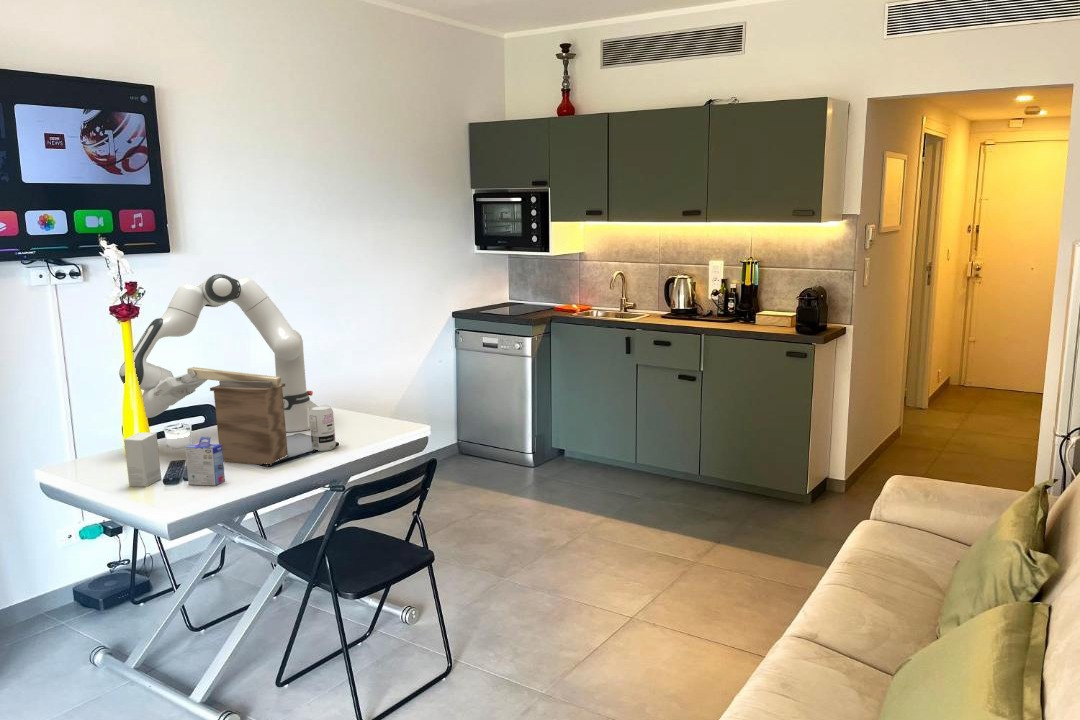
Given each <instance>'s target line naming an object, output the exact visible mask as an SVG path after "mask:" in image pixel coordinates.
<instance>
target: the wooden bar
mask: <svg viewBox="0 0 1080 720" xmlns="http://www.w3.org/2000/svg"><path fill="white" fill-rule="evenodd" d="M186 370H187V373H186V374H188V373H190V372H191V371H196V373H197V375H196V376H195V377H192V378H199V379H208V380H209V381H210V380H211V381H216V382H219V381H220V380H227V381H259V382H272V387H274V388H277V387H280V386H281V377H276V375H274V376H273V375H267V374H266V375H264V374H258V373H257V374H256V373H249V372H247V373H246V372H240V371H231V370H230V371H229V370H221V369H213V368H205V367H204V368H203V367H198V366H197V367H196V366H193V367H188V368H187V369H186ZM208 380H207V381H208Z"/></svg>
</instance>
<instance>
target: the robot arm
mask: <svg viewBox="0 0 1080 720" xmlns="http://www.w3.org/2000/svg"><path fill="white" fill-rule="evenodd" d="M229 302H233V304H236V305H237V306H238V307H239V308H240V310H241V311H242V313H244V315H245V316H246V318H247V319H249V321H250V323H252V325H253V326H254V327H255V329H256V330H257V331H258V333H259V334H260V336H261V337H262V339H263V340H264V341H265V343H266V344H267V345H268V347H269V348H270V350H271V351H272V352H273V354H274V365H275V366H274V367H275V377H281V383H285V387H282V391H283V403H284V415H285V427H286V433H288V432H290V433H291V432H301V431H306V430H307V431H308V430H311V428H310V415H309V413H310V410H311V408H312V407H316V406H318V405H317V404H316V403H314V402H313V401H312V400H311V398H310V397H311V396H313V395H314V392H313V390H307V384H306V383H307V382H306V381H307V380H306V369H305V359H304V358H305V357H304V343H303V342H304V341H303V338H302V335H301V334H300V332H298V330H296V329H293V327H292V325H290V323H289V322H288V320H287V319H286V317H285V316H284V314H283V313H282V311H281V310H280V309H279V308H278V307H277V305H276V304H275V302H274V301H273V300H272V299H271V297H270V296H268V294H267V293H266V292H265V290H264V289H263V288H262V287H261V286H260V285H259V284H258V283H257V282H255V281H254V280H253V279H252V278H250V277H241V278H239V279H235V278H233V277H231V276H228V275H226V274H223V273H216V274H213V275H212V276H209V277H208V278H206V279H205V280H204V281H203V282H202V283H201V284H200V285H197V286H196V285H195V284H192V283H191V284H190V283H184V284H182V285H180V286H179V287H177V289H176V291H175V292H174V294H173V296H172V297H171V299H170V302H169V303H168V306H167V308H166V310H165V312H164V314H162V315H161V316H160V317H159V318H155V319H153V320H152V322H151V323H149V325H148V326H147V327H146V330H145V331H144V332H143V334H142V335H141V337H140V338H139V340H138V342H137V344H136V345H135V347H134V348H133V350H132V352H134V362H135V368H136V374H137V377H138V381H139V385H140V389H139V390H142V391H143V393H142V395H141V397H143V402H144V407H145V412H146V417H145V418H148V419H149V418H150V419H151V418H154V417H157V416H158V415H160V414H162V413H163V412H165V411H166V410H168V409H169V407H171V406H174V405H175V404H178V402H180V401H181V400H183V399H184V398H185V397H187V396H189V395H191V394H193V393H195V392H196V391H197V390H196V389H198V388H199V387H201V386H202V385H203V384H204V383H205V382H207V381H208V379H199V378H192V377H195V376H196V375H197V373H196V371H191V372H190V373H186V374H182V375H177V376H174V375H173V373H172V371H170V370H168V369H166V368H163V367H162V366H159V365H155V364H152V363H151V362H147V358H149V356H150V353H151V352H152V350H153V348H154V347H155V345H156V343H157V342H158V341H160V340H161V339H162V338H163V339H164V338H168V337H169V338H172V337H175V338H176V337H179V338H180V337H184V336H186V335H189V334H190V333H192V332H193V331H194V329H195V328H196V326H197V323H198V320H199V318H200V315H201V312H202V311H203V309H204V308H205V307H210V308H218V307H221V306H223V305H226V304H228V303H229ZM118 374H119V377H120V381H121V383H123V385H124V383H125V361H124V362H123V363H122V365H121V366H120V368H119V371H118Z"/></svg>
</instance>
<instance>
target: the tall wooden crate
mask: <svg viewBox="0 0 1080 720" xmlns="http://www.w3.org/2000/svg"><path fill="white" fill-rule="evenodd" d="M218 382H219V384H218V385H215V386H212V387H209V391H210V392H213V398H214V407H215V418H216V429H217V438H218V439H217V440H218V444H222V453H223V463H229V464H230V463H231V464H246V465H248V464H249V465H262V464H263V463H265V464H266V463H267V464H270V465H269V466H273V465H272V463H274V462H275V461H276V460H278V459H280V458H282V457H285V456H286V455H288V456H289V452H288V440H287V432H286V427H285V415H284V403H283V391H282V387H285V383H281V386H280V387H277V388H274V387H272V382H259V381H227V380H220V381H218Z"/></svg>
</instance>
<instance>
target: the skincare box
mask: <svg viewBox="0 0 1080 720" xmlns="http://www.w3.org/2000/svg"><path fill="white" fill-rule="evenodd" d="M157 436H158V433H157V432H142V431H139V432H138V433H135V434H134V435H131V436H129V437H127V438H125V439H123V441H124V451H125V461H126V468H127V470H126V471H127V478H128V485H129V487H134V488H135V487H140V488H142V487H143V488H147V487H149V486H150V485H153V484H155V483H156V482H159V481H161V480H162V471H161V463H160V453H159V445H158V444H159V443H158V437H157Z"/></svg>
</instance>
